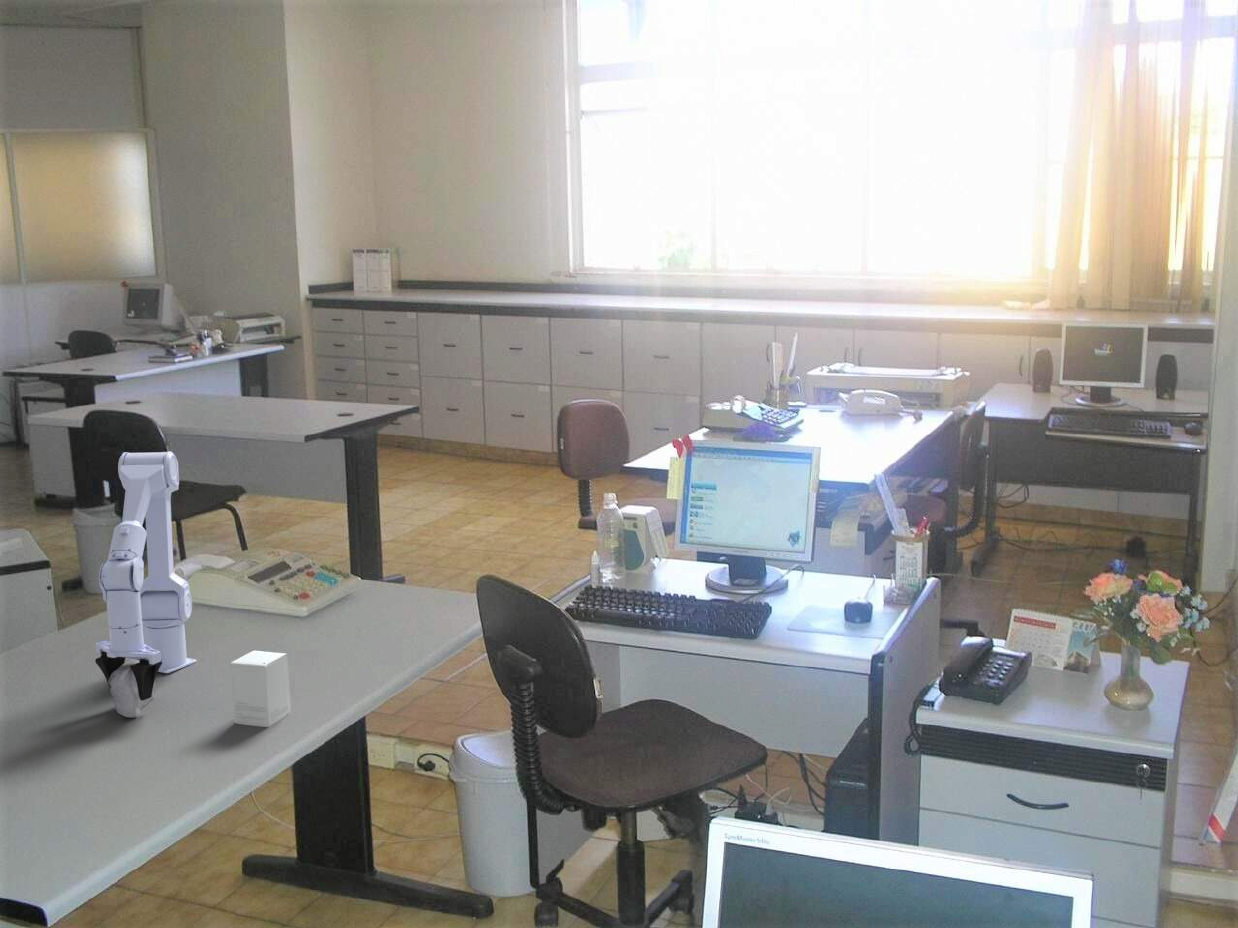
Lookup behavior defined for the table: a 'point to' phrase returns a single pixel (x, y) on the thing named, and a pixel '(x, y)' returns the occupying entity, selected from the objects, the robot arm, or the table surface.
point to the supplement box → (260, 688)
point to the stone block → (127, 691)
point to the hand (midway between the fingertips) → (131, 695)
